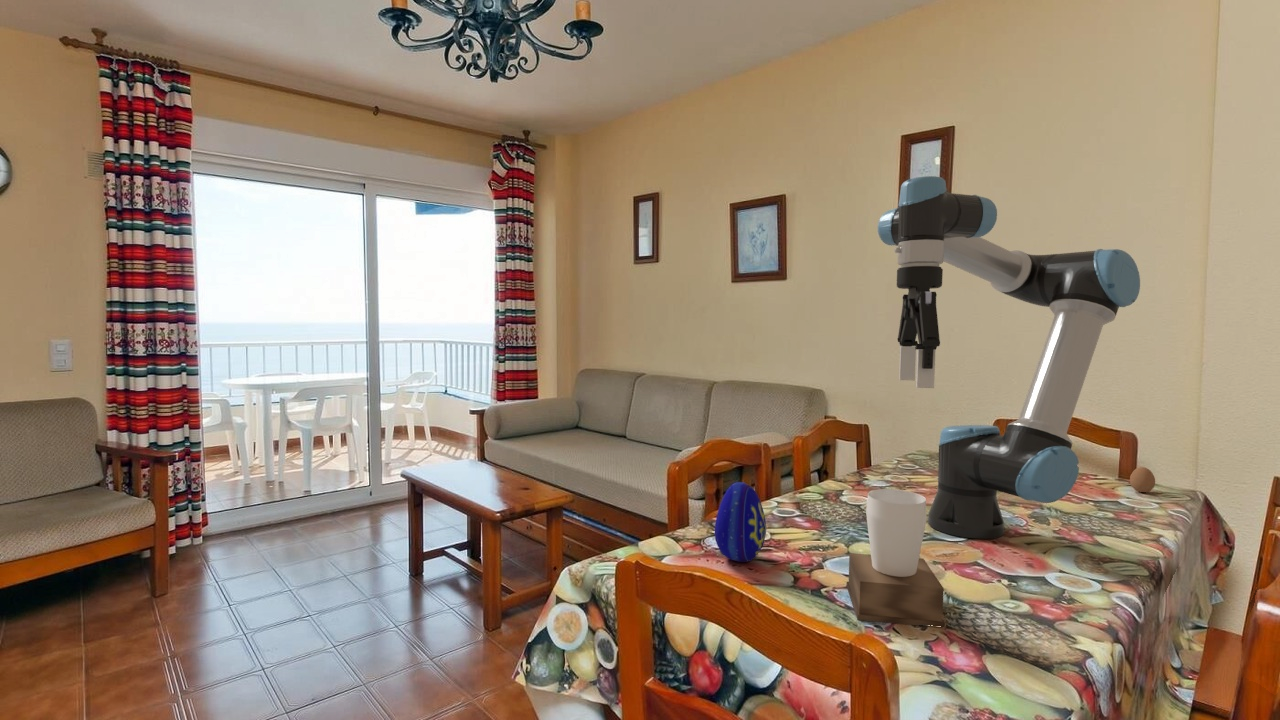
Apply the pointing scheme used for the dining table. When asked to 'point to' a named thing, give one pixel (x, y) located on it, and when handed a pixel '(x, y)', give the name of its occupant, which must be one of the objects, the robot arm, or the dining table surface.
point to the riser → (894, 594)
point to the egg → (1142, 479)
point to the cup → (895, 530)
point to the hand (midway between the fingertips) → (915, 384)
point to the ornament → (740, 523)
